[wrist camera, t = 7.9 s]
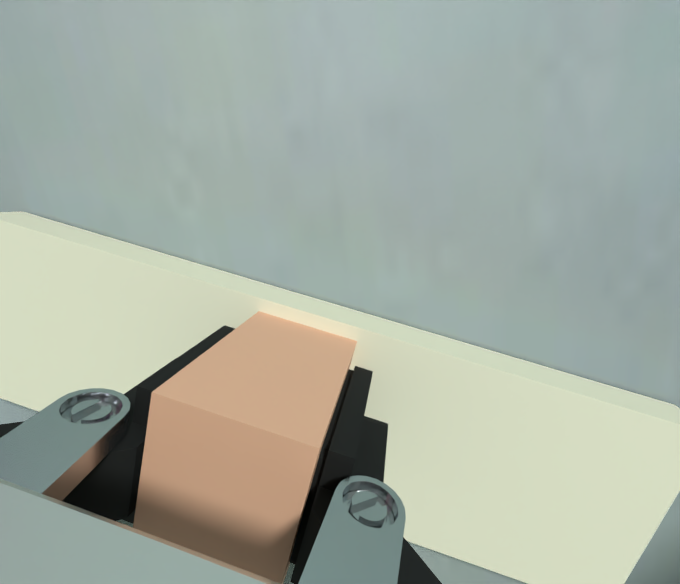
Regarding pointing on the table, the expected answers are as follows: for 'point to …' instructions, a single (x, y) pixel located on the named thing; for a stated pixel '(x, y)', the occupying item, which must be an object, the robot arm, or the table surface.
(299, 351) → the stub
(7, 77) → the table surface
